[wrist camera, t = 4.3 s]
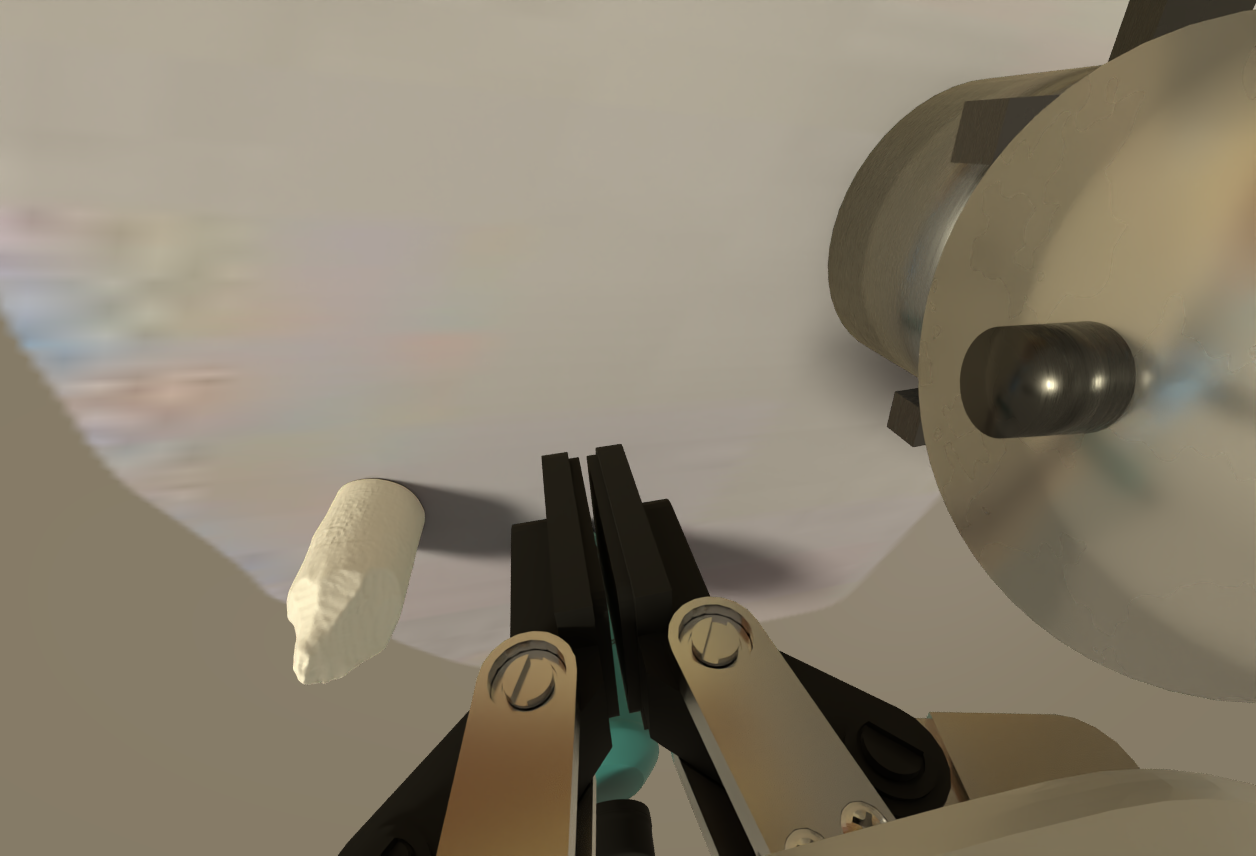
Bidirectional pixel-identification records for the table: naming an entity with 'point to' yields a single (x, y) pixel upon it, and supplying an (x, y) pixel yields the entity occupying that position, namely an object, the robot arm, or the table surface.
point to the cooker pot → (947, 193)
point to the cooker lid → (1113, 364)
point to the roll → (354, 579)
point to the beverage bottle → (624, 781)
